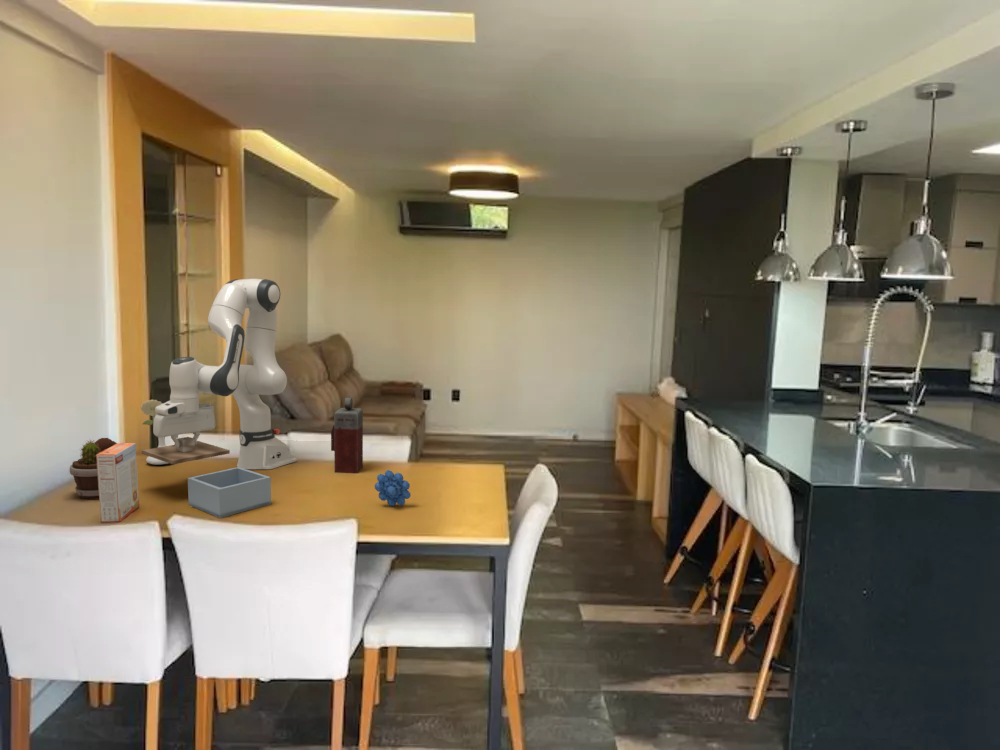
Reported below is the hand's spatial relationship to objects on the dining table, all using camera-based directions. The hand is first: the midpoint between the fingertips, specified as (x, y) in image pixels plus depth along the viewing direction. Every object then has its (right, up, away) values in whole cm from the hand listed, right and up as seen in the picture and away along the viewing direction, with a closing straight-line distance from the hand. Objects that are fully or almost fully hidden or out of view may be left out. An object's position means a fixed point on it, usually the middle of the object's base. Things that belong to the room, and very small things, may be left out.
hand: (185, 446), depth 238 cm
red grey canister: (+47, -13, +33) cm, 59 cm away
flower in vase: (-25, -10, +35) cm, 44 cm away
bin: (+19, -18, -11) cm, 29 cm away
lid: (0, -3, 0) cm, 3 cm away
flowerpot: (-27, -16, -5) cm, 32 cm away
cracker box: (-10, -19, -23) cm, 31 cm away
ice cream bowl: (-33, -13, +13) cm, 38 cm away
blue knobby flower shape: (+71, -19, -9) cm, 74 cm away
